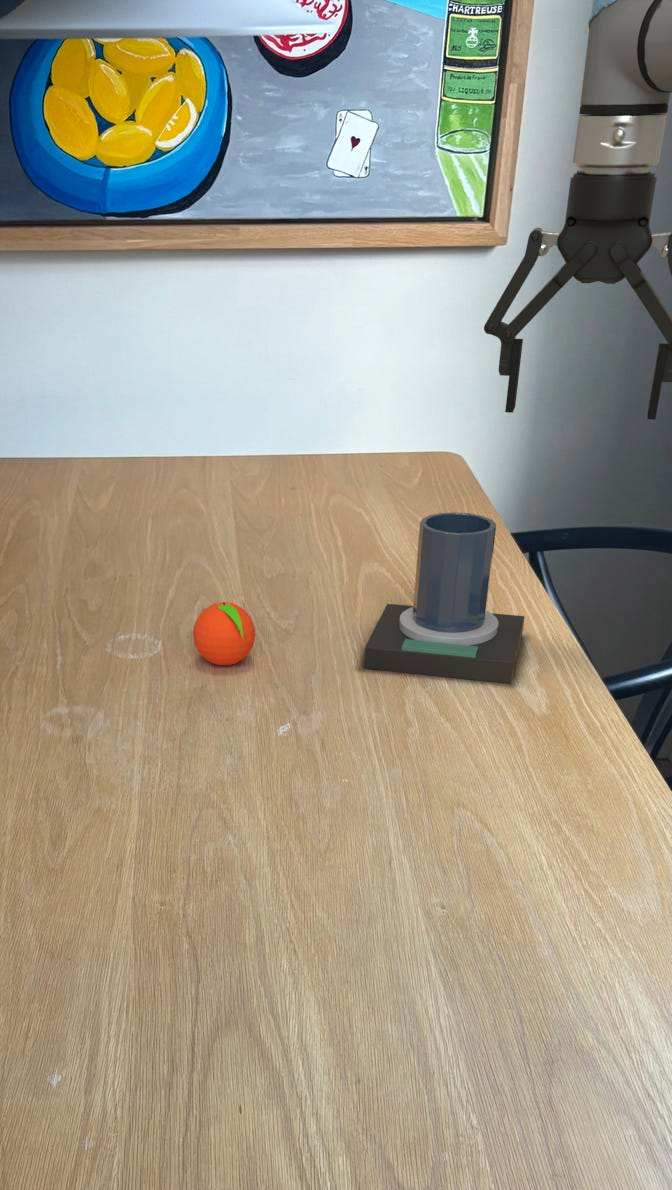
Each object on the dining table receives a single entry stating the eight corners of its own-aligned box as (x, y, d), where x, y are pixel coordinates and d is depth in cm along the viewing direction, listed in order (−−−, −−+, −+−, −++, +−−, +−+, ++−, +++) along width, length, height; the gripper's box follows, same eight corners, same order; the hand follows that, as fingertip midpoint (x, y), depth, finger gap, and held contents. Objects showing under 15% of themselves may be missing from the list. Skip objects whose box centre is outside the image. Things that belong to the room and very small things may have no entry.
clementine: (270, 671, 136) (271, 610, 132) (215, 683, 133) (214, 621, 129) (237, 646, 142) (237, 587, 138) (183, 658, 139) (181, 598, 136)
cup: (488, 610, 141) (499, 515, 135) (480, 635, 134) (491, 537, 128) (418, 604, 143) (426, 510, 137) (407, 628, 136) (415, 531, 131)
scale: (522, 636, 143) (525, 607, 141) (510, 683, 132) (514, 653, 130) (385, 623, 147) (387, 595, 145) (363, 668, 136) (365, 638, 134)
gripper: (470, 173, 111) (448, 415, 123) (765, 172, 105) (714, 428, 116) (479, 168, 117) (458, 399, 129) (759, 167, 111) (711, 410, 122)
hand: (579, 413), depth 122 cm, fingers open, 13 cm apart
